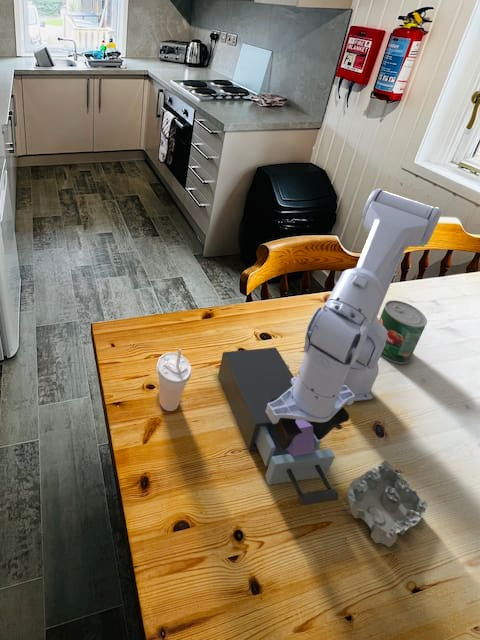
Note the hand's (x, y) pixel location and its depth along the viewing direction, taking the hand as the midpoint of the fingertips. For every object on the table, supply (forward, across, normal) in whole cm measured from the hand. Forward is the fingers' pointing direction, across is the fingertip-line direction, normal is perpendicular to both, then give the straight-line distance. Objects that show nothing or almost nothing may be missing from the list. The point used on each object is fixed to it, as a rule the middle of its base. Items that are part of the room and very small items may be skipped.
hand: (298, 438), depth 64 cm
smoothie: (+8, +16, -15) cm, 23 cm away
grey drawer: (+7, 0, -2) cm, 7 cm away
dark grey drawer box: (+8, -1, -10) cm, 13 cm away
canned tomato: (+8, -40, -16) cm, 43 cm away
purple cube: (+2, 0, 0) cm, 2 cm away
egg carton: (+8, -11, +9) cm, 16 cm away
